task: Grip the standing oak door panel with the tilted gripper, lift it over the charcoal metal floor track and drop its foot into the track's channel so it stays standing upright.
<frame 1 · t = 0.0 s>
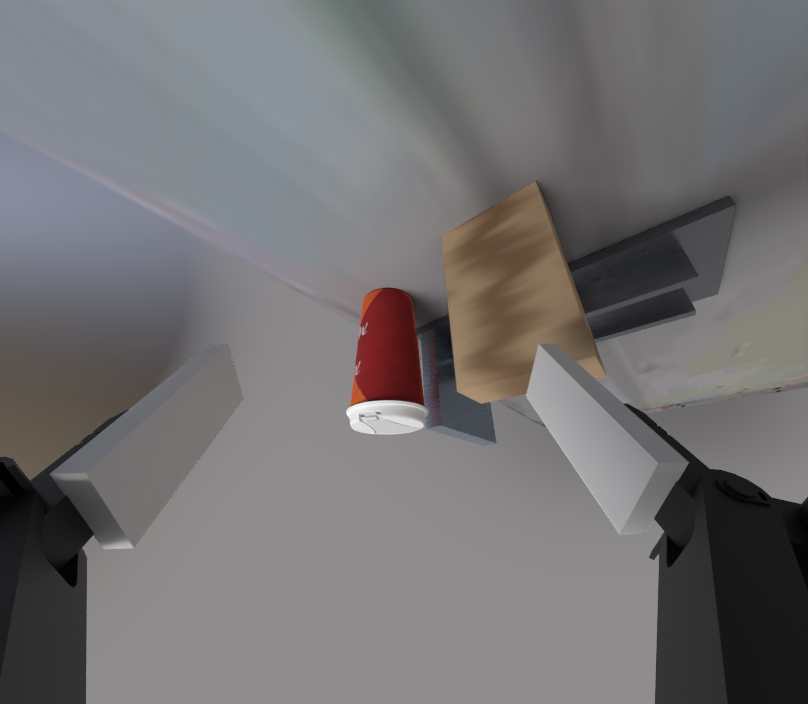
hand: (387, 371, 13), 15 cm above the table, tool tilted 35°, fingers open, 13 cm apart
floor track: (550, 310, 36), on the table
door panel: (493, 225, 25), on the table
paper cup: (388, 302, 35), on the table
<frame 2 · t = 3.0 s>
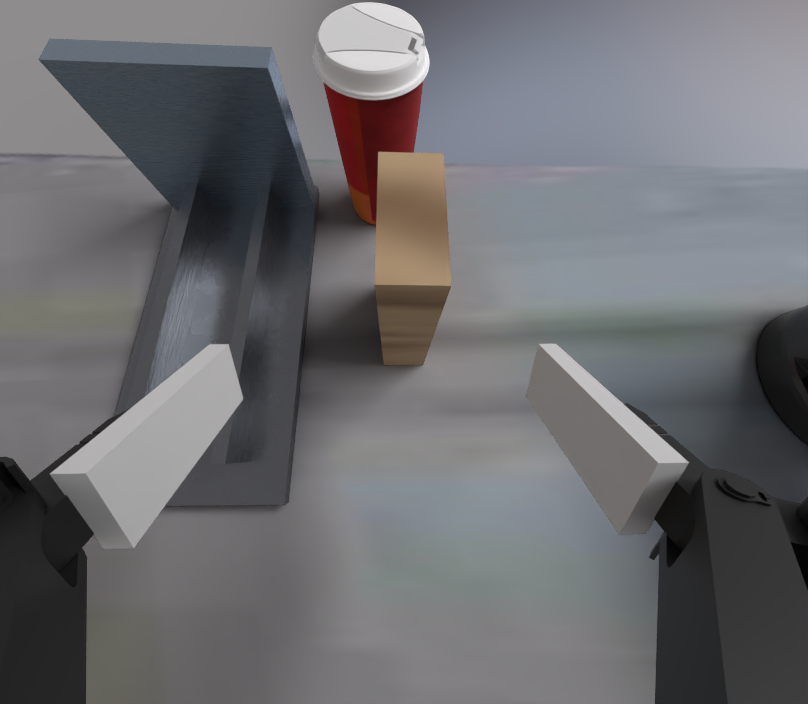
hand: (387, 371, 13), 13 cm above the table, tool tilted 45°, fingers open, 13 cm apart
floor track: (229, 322, 28), on the table
door panel: (403, 323, 28), on the table
paper cup: (379, 205, 33), on the table
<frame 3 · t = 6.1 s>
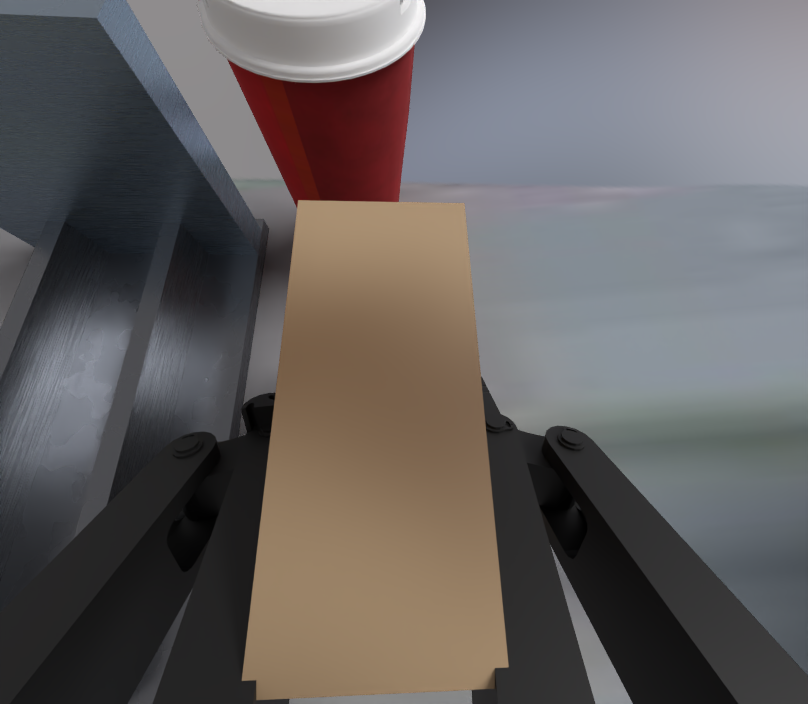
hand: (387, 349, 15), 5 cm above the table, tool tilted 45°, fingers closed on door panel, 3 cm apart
floor track: (115, 438, 18), on the table
door panel: (388, 434, 18), on the table, touching gripper
paper cup: (355, 245, 23), on the table
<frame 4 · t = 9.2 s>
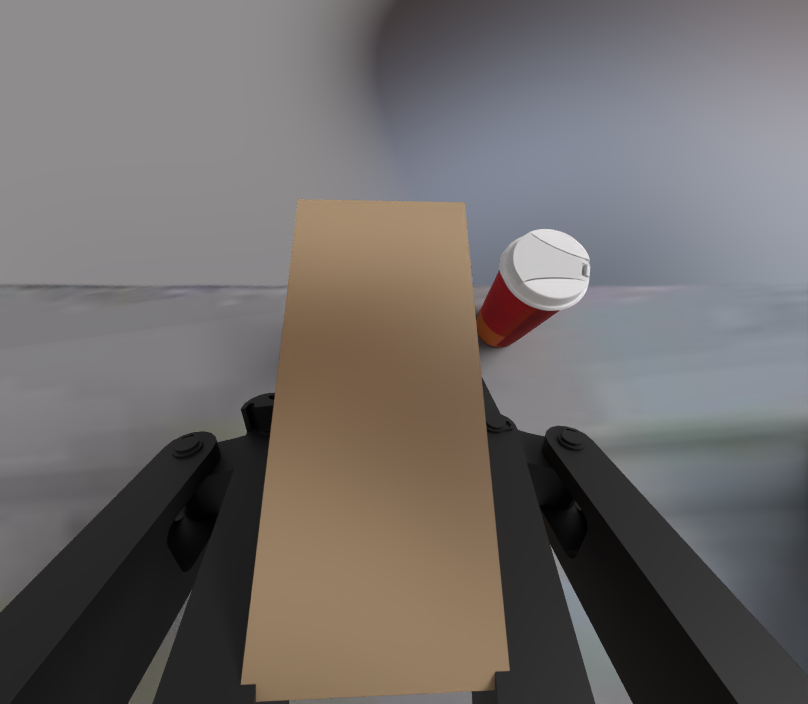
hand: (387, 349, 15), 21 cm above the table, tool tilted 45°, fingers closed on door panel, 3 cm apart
door panel: (388, 434, 18), point 16 cm above the table, touching gripper
paper cup: (496, 327, 39), on the table
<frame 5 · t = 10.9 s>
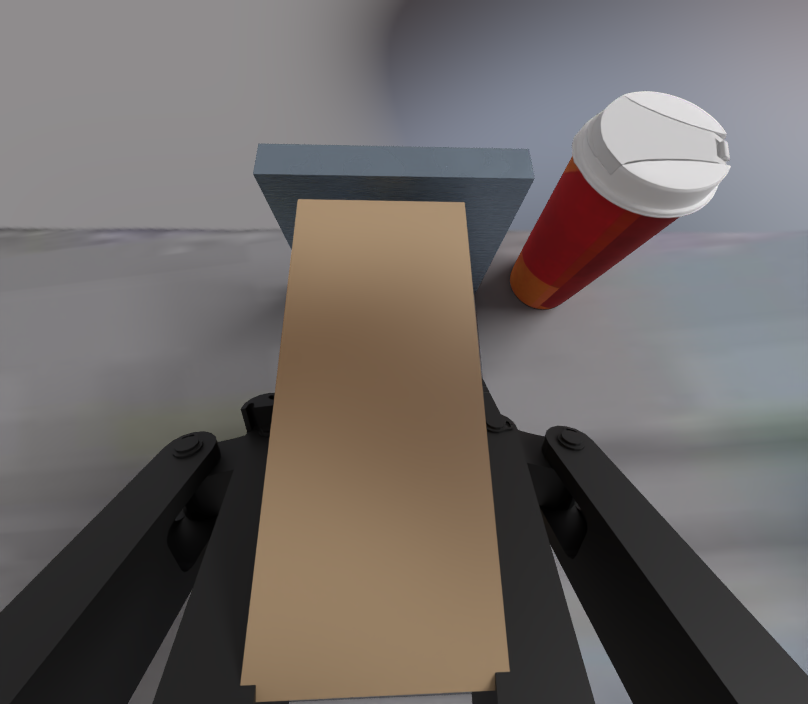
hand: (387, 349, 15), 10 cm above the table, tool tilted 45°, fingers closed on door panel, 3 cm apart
floor track: (395, 437, 24), on the table
door panel: (388, 434, 18), point 6 cm above the table, touching gripper
paper cup: (537, 283, 29), on the table
when the fingers open (7 cm above the table, at t = 12.2 s): door panel drops 1 cm, resting on floor track.
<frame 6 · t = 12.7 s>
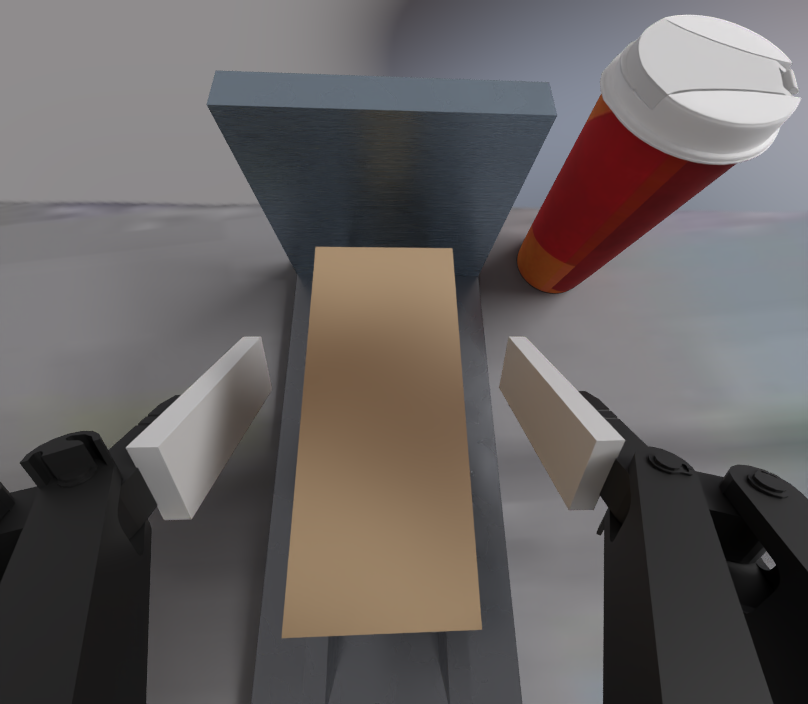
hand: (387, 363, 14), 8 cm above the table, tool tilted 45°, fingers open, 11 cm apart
floor track: (388, 436, 21), on the table
door panel: (389, 435, 20), point 1 cm above the table, touching floor track
paper cup: (547, 265, 26), on the table
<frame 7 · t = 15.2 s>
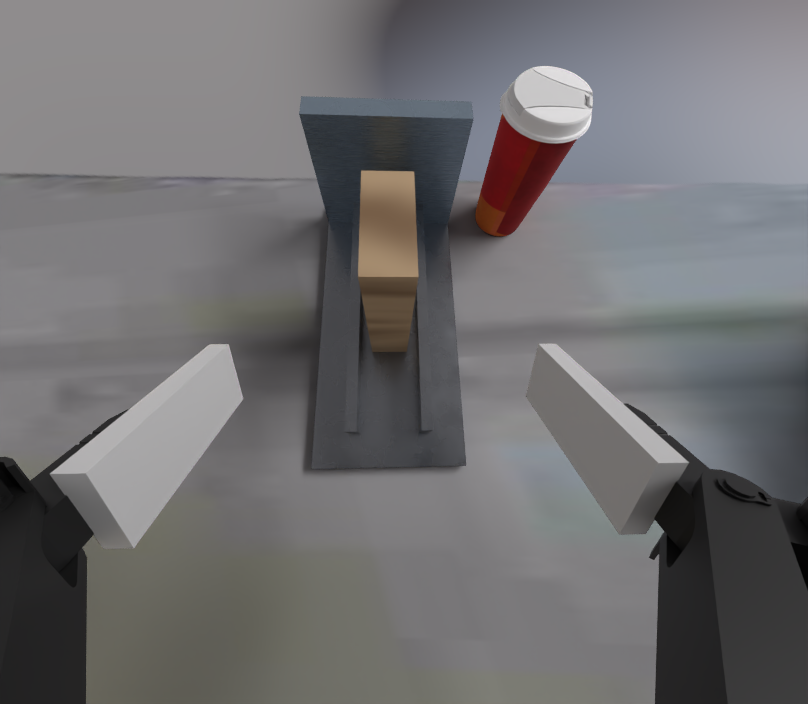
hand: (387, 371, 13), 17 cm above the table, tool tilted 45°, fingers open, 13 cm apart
floor track: (389, 319, 33), on the table
door panel: (389, 315, 32), point 1 cm above the table, touching floor track
paper cup: (495, 219, 38), on the table
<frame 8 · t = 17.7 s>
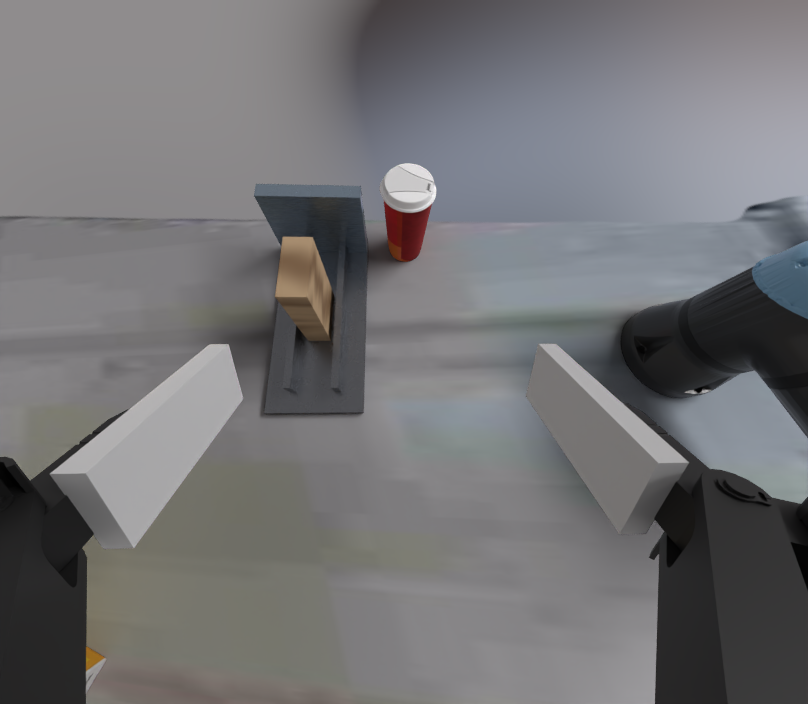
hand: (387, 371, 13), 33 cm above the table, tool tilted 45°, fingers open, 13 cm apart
floor track: (322, 319, 49), on the table
door panel: (321, 317, 48), point 1 cm above the table, touching floor track
paper cup: (404, 249, 54), on the table
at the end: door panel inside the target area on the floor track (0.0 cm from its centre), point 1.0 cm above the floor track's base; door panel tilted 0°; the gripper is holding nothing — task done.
